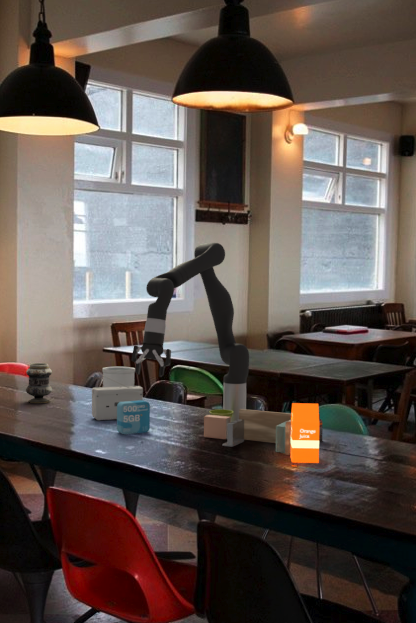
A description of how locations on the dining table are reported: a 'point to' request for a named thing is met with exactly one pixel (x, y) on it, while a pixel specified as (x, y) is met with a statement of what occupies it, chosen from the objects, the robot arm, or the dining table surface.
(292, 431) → the orange juice
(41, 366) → the stone urn vase
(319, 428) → the supplement bottle
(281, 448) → the teal book
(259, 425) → the rack
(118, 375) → the utensil holder
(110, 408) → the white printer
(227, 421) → the tan rectangular block
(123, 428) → the data package
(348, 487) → the dining table surface
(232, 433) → the bookend
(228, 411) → the plant pot
